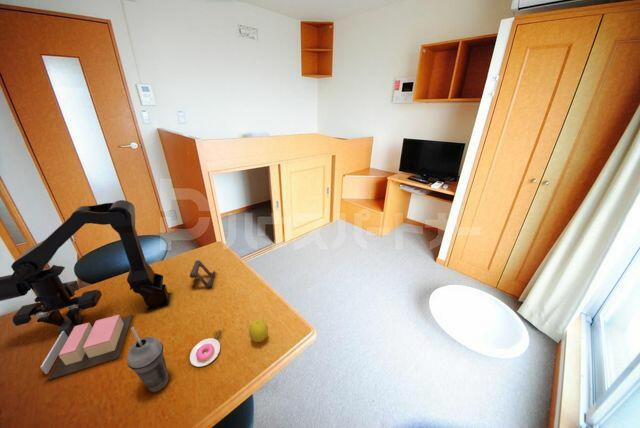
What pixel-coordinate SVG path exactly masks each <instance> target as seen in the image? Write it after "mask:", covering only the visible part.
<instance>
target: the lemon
mask: <svg viewBox="0 0 640 428" xmlns="http://www.w3.org/2000/svg"><path fill="white" fill-rule="evenodd" d="M248 333H249V337H250V339H251V340H252V341H253V342H255V343H261V342H263V341H264V340H265V339H266V338H267V336H268V333H269V327H268V325H267V322H266V321H265V320H263V319H261V318H259V319H258V318H257V319H255V320H254V321H252V322H251V324H250V325H249V329H248Z"/></svg>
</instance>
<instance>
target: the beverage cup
mask: <svg viewBox="0 0 640 428" xmlns="http://www.w3.org/2000/svg"><path fill="white" fill-rule="evenodd" d="M130 329H131V331H132V333H133V335H134V337H135V339H136V341H135V342H134V343H133V344H132V345H130V347H129V349H128V351H127V356H126V362H127V366H128V368H129V369H131V370H132V371H133V372H135V374H136V375H137V377H138V378H139V380H141V382H142V383H143V384H144V386H145V387H146V388H147V389H148V390H149V391H150V392H152V393H155V392H159V391H160V390H162V389H163V388H165V387H166V386H167V384H168V382H169V378H170V377H169V372H168V368H167V363H166V359H165V355H164V345H163V343H162V341H160V340H159V339H158V338H157V337H154V336H144V337H142V338H140V337H139V335H138V333H137V331H136V328H135V327H134V326H132V327H131V328H130Z"/></svg>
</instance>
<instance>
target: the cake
mask: <svg viewBox="0 0 640 428" xmlns="http://www.w3.org/2000/svg"><path fill="white" fill-rule="evenodd" d="M123 325H124V323H123V321H122V317H121V315H120V314H116V315H112V316H109V317H105V318H100V319H97V320H95V322H94V324H93V328H92V330H91V332H90V334H89V336H88V338H87V340H86V342H85V344H84V347H83V349H84V351H85V352H86V354H87V356H88V357H89V358H91V357H94V356H98V355H101V354H104V353H108V352H111V351H114V350H115V348H116V345H117V342H118V340H119V337H120V334H121V331H122V328H123Z"/></svg>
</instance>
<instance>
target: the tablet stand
mask: <svg viewBox="0 0 640 428" xmlns="http://www.w3.org/2000/svg"><path fill="white" fill-rule="evenodd" d="M200 268H201V269H202V270H203V271H204V272H205V273H206V274H207V276H209V279H208V282H207V281H206V280H205V279H204V278H203V277H202V276H201V274H200V273H198V272H199V269H200ZM215 275H216V271H215V270H213V272H211V271H209V269H208V268H207V267H206V266H205V265H204V263H203V262H202V261H201V260H199V259H197V260H195V261H194V264H193V266H192V269H191V271H190V273H189V278H191V279H194V280H193V283H192V286H191V287H192V288H194V285H195V282H196V280H197V279H198V280H199V281H200V282H201V283H202V284H203V286H205V287H206V288H207V289H212V288H213V283H214V280H215Z"/></svg>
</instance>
